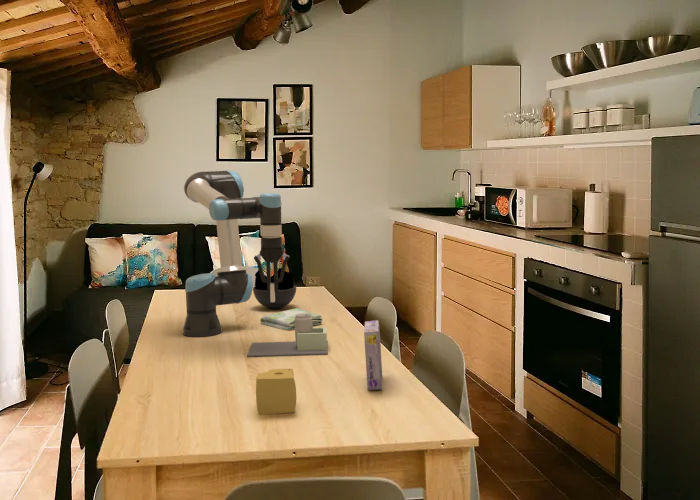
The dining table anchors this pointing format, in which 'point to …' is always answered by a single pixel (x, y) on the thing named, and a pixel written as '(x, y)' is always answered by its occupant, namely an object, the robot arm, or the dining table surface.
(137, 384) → the dining table surface
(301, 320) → the beverage can
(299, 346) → the mount
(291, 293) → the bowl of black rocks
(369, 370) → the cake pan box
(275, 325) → the towel
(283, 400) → the cheese
